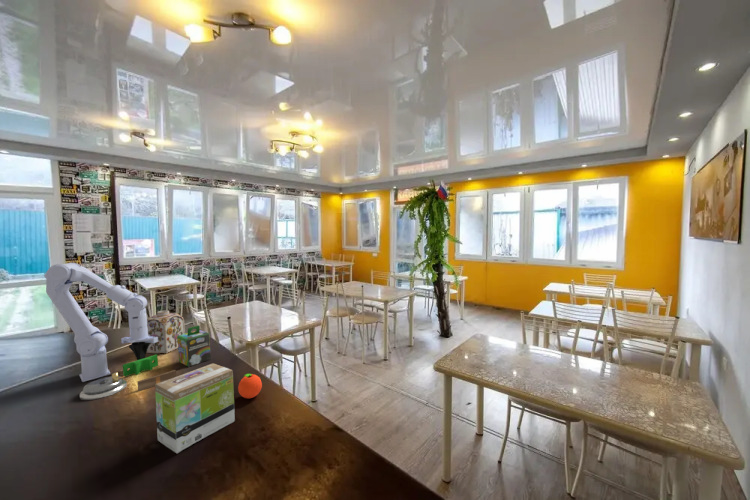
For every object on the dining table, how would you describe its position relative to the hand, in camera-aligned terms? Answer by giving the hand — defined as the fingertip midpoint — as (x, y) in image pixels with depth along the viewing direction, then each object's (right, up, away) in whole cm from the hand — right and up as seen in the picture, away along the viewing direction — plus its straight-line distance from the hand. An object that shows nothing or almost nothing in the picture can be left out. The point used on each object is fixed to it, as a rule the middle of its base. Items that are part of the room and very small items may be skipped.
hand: (141, 360), depth 123 cm
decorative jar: (-5, -3, +21) cm, 22 cm away
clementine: (+54, -2, -26) cm, 60 cm away
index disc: (+1, -3, -18) cm, 18 cm away
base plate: (+1, -4, -18) cm, 18 cm away
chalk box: (+18, -2, +5) cm, 19 cm away
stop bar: (+17, -3, -15) cm, 23 cm away
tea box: (+47, -3, -42) cm, 64 cm away
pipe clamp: (+3, -4, -3) cm, 5 cm away
